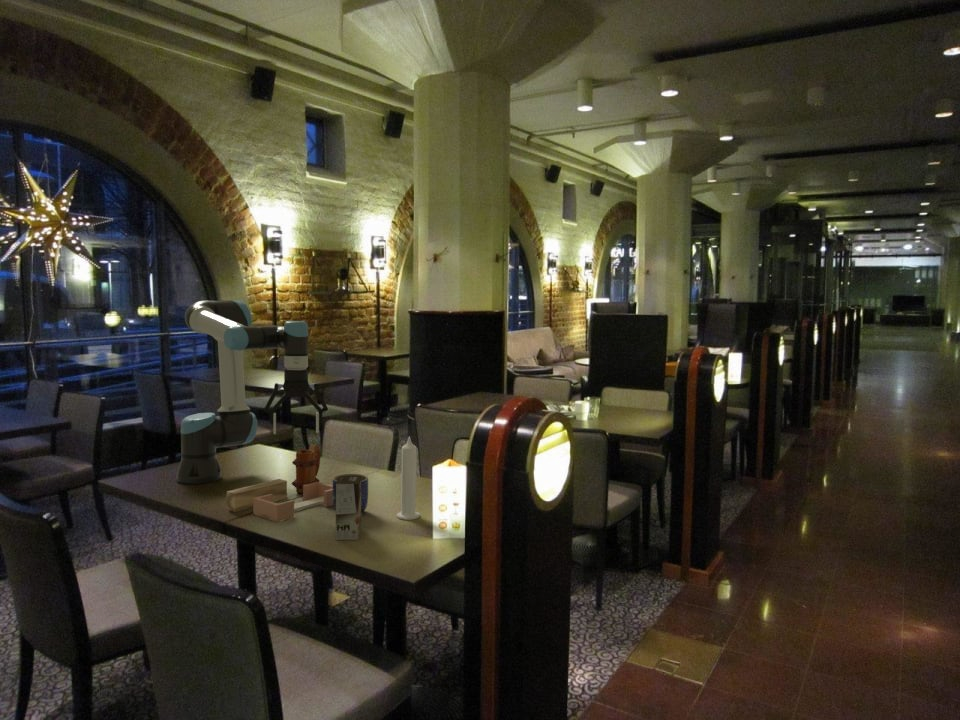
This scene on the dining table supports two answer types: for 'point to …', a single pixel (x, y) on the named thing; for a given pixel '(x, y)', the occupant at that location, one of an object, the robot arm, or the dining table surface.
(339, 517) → the coffee box
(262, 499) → the endcap rail
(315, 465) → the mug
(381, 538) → the dining table surface
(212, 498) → the dining table surface
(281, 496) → the tan wooden beam
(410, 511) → the candle
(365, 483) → the planter
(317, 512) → the dining table surface
